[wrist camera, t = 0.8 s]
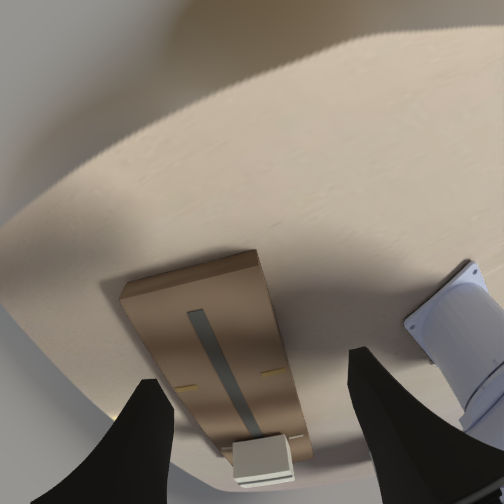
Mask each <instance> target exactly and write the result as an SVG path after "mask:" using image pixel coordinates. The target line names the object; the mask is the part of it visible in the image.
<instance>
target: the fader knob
mask: <svg viewBox="0 0 504 504" xmlns="http://www.w3.org/2000/svg"><path fill="white" fill-rule="evenodd" d="M233 476H234V479H235V480H236V481H237V483H238V484H239V485H240V486H241V487H242V488H249V487H257V486H264V485H271V484H278V483H284V482H289V481H295V478H294V471H293V465H292V458H291V451H290V446H289V444H288V441H287V439H286V436H285V434H283V435H278V436H272V437H267V438H261V439H255V440H249V441H242V442H235V443H233Z"/></svg>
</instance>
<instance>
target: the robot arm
mask: <svg viewBox="0 0 504 504" xmlns="http://www.w3.org/2000/svg"><path fill="white" fill-rule="evenodd" d="M404 326H405V328H406V329H407V330H408V332H409V333H410V334H411V335H412V336H413V338H414V339H415V340H416V341H417V342H418V344H419V345H420V346H421V347H422V348H423V350H424V351H425V352H426V353H427V355H428V356H429V357H430V358H431V360H432V361H433V362H434V363H435V365H436V366H437V367H439V368H440V370H441V372H442V373H443V375H444V377H445V378H446V380H447V382H448V384H449V385H450V387H451V389H452V391H453V392H454V394H455V396H456V398H457V399H458V401H459V403H460V405H461V407H462V408H463V410H464V412H465V413H464V414H463V416H462V417H461V418H460V419H459V421H460V423H461V425H462V427H463V431H461V430H459V429H457V428H455V427H454V426H452V425H450V424H449V423H447V422H446V421H444V420H443V419H441V418H440V417H439V416H437V415H436V414H434V413H433V412H432V411H430V410H429V409H428V408H427V407H425V406H424V405H423V404H422V403H421V402H419V401H418V400H417V399H416V398H415V397H414V396H413V395H411V394H410V393H409V392H408V391H407V390H406V389H405V388H404V387H403V386H402V385H401V384H400V383H399V382H398V381H397V380H396V379H395V378H394V377H393V376H392V375H391V374H390V373H389V372H388V371H387V370H386V369H385V368H384V367H383V365H382V364H381V363H380V362H379V361H378V360H377V359H376V358H375V356H374V355H373V354H372V353H371V352H370V350H369V349H368V348H367V347H365V346H364V347H360V348H356V349H352V350H349V364H348V382H347V385H348V389H349V393H350V397H351V400H352V404H353V408H354V410H355V413H356V416H357V418H358V421H359V423H360V426H361V429H362V431H363V434H364V436H365V439H366V442H367V444H368V447H369V450H370V452H371V455H372V458H373V461H374V465H375V469H376V474H377V478H378V482H379V487H380V491H381V496H382V502H383V504H504V310H503V308H502V307H501V306H500V305H499V304H498V303H497V302H496V301H495V300H494V299H493V298H492V297H491V296H490V295H489V292H488V289H487V287H486V284H485V281H484V279H483V276H482V274H481V272H480V269H479V267H478V264H477V263H476V262H475V261H471V262H469V263H468V264H467V265H466V266H465V267H464V268H463V269H462V270H461V271H460V272H459V273H458V274H457V275H456V276H455V277H454V278H453V279H452V280H450V281H449V282H448V283H447V284H446V285H445V286H444V287H443V288H442V289H441V290H439V291H438V292H437V293H436V294H435V295H434V296H433V297H432V298H430V299H429V300H428V301H427V302H426V303H425V304H423V305H422V306H421V307H420V308H419V309H418V310H416V311H415V312H414V313H413V314H412V315H410V316H409V317H408V318H407V319H406V320H405V321H404ZM173 434H174V408H173V407H172V405H171V403H170V402H169V400H168V398H167V397H166V395H165V393H164V391H163V390H162V388H161V386H160V385H159V383H158V381H157V379H142V380H141V382H140V383H139V385H138V386H137V388H136V389H135V391H134V392H133V394H132V396H131V397H130V399H129V400H128V402H127V403H126V405H125V407H124V408H123V410H122V411H121V413H120V414H119V416H118V417H117V419H116V420H115V422H114V423H113V425H112V426H111V428H110V429H109V430H108V432H107V433H106V434H105V436H104V437H103V438H102V440H101V441H100V442H99V444H98V445H97V446H96V447H95V449H94V450H93V451H92V452H91V453H90V454H89V456H88V457H87V458H86V459H85V460H84V461H83V462H82V463H81V464H80V465H79V466H78V467H77V468H76V469H75V470H74V471H73V472H72V473H70V474H69V475H68V476H67V477H66V478H65V479H64V480H62V481H61V482H60V483H59V484H57V485H56V486H55V487H53V488H52V489H51V490H49V491H48V492H47V493H45V494H43V495H42V496H40V497H38V498H37V499H35V500H34V501H32V502H31V503H30V504H167V478H168V471H169V463H170V456H171V449H172V442H173Z"/></svg>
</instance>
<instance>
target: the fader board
mask: <svg viewBox="0 0 504 504" xmlns="http://www.w3.org/2000/svg"><path fill="white" fill-rule="evenodd" d="M119 301H120V303H121V305H122V307H123V309H124V310H125V312H126V314H127V316H128V317H129V319H130V321H131V323H132V324H133V326H134V328H135V330H136V331H137V333H138V335H139V336H140V338H141V340H142V341H143V343H144V344H145V346H146V348H147V349H148V351H149V353H150V354H151V356H152V357H153V359H154V360H155V362H156V364H157V365H158V367H159V368H160V370H161V371H162V373H163V374H164V376H165V377H166V379H167V380H168V382H169V383H170V385H171V386H172V388H173V389H174V391H175V392H176V393H177V395H178V396H179V398H180V399H181V401H182V402H183V403H184V405H185V406H186V408H187V409H188V410H189V412H190V413H191V414H192V416H193V417H194V418H195V420H196V421H197V422H198V424H199V425H200V426H201V428H202V429H203V430H204V432H205V433H206V434H207V436H208V437H209V438H210V439H211V441H212V442H213V443H214V444H215V446H216V447H217V448H218V449H219V451H220V452H221V453H222V454H223V455H224V457H225V458H226V459H227V460H228V462H229V463H230V464H231V465H232V466H233V443H235V442H242V441H249V440H255V439H261V438H267V437H272V436H278V435H283V434H285V436H286V439H287V441H288V444H289V446H290V451H291V458H292V463H293V462H298V461H302V460H307V459H312V458H314V455H313V450H312V445H311V441H310V437H309V434H308V430H307V427H306V423H305V419H304V416H303V412H302V409H301V405H300V402H299V398H298V395H297V391H296V387H295V384H294V380H293V377H292V373H291V370H290V366H289V363H288V359H287V356H286V352H285V349H284V345H283V342H282V338H281V335H280V331H279V327H278V324H277V320H276V317H275V313H274V310H273V306H272V303H271V299H270V296H269V292H268V289H267V285H266V282H265V278H264V275H263V272H262V268H261V265H260V261H259V258H258V254H257V251H256V250H252V251H248V252H244V253H240V254H236V255H233V256H229V257H225V258H221V259H217V260H213V261H209V262H205V263H202V264H198V265H194V266H190V267H186V268H182V269H178V270H175V271H171V272H167V273H163V274H159V275H155V276H151V277H147V278H144V279H140V280H136V281H132V282H128V283H127V284H126V286H125V288H124V290H123V292H122V294H121V296H120V298H119Z"/></svg>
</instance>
